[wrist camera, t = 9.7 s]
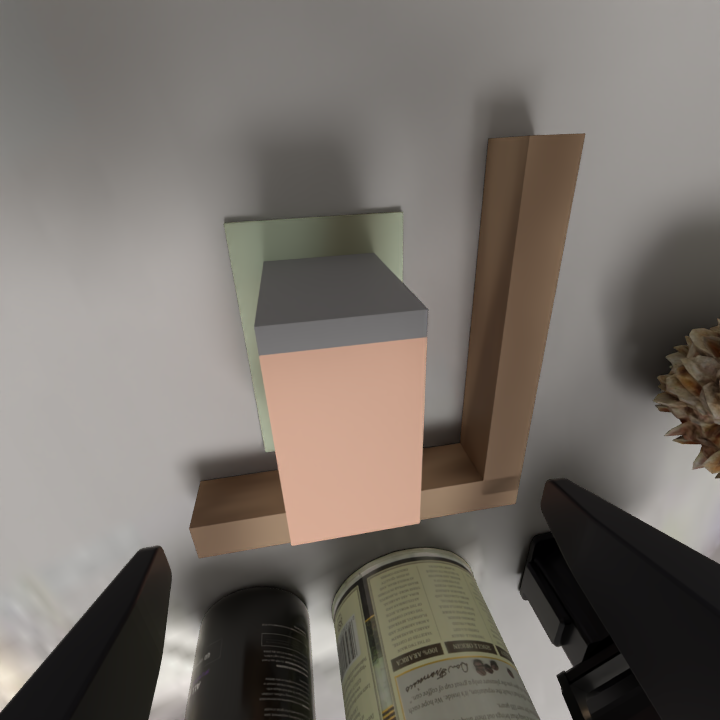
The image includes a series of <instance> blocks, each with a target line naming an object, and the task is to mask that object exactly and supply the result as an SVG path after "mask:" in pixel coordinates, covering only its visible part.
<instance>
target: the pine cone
mask: <svg viewBox="0 0 720 720" xmlns="http://www.w3.org/2000/svg"><path fill="white" fill-rule="evenodd" d="M717 321H718V326H715V327H711V328H710V330H708V329H705V328H698V329H692V331H691V332H690V334H689V336H685V338H686V341H687V344H688V346H687V345H679V346H675V347H673V348H675V349H676V350H677V351H679V352H676V353H672V354H669V355H668V356H666V358H667V359H668V360H669V361H670V362H671V364H672V366H669V367H670V368H671V369H672V370H671V371H670V372H669V374H667V375H659V376H658V377H657V378H658V380H659V381H660V385H659V386H658V388H660V389H662V390H660V391H663V393H660V394H658V395H657V396H656V397H655V399H654V400H653V401H654V402H656V403H659V405H655V406H656V407H657V408H658V409H659V411H662V412H671V413H672V414H673V415H674V416H675V417H676V418H678V419H680V421H681V422H682V424H680V425H679V426H677V427H675V428H672V429H671V430H669V431H668V432H667V433H666V434H665V435H664V436H674V435H682V436H680V437H678V438H676V439H674V440H672V441H675V442H678V443H681V444H701V445H702V447H701V450H700V453H699V455H698V456H697V458H696V459H695V461H694V462H693V469H692V470H694V469H698V468H703V467H705V468H706V469H707V470H708V471H709V472H711V473H712V474H713V473H718V474H717V476H716V477H715V478H720V319H718V318H717Z"/></svg>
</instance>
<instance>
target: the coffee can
mask: <svg viewBox="0 0 720 720" xmlns="http://www.w3.org/2000/svg"><path fill="white" fill-rule="evenodd" d="M332 618H333V622H334V628H335V634H336V642H337V650H338V658H339V667H340V675H341V683H342V691H343V699H344V707H345V715H346V720H540V718H539V716H538V714H537V712H536V709H535V707H534V705H533V703H532V701H531V699H530V697H529V694H528V692H527V690H526V688H525V686H524V684H523V682H522V680H521V677H520V675H519V673H518V671H517V668H516V667H515V664H514V662H513V661H512V658H511V656H510V654H509V652H508V650H507V648H506V645H505V643H504V641H503V639H502V637H501V635H500V633H499V631H498V628H497V626H496V624H495V622H494V620H493V618H492V616H491V614H490V611H489V609H488V607H487V605H486V603H485V601H484V599H483V597H482V594H481V592H480V590H479V588H478V586H477V583H476V581H475V579H474V575H473V572H472V570H471V568H470V567H469V565H468V564H467V563H466V562H465V561H464V560H463V559H462V558H461V557H459V556H458V555H456V554H454V553H452V552H449V551H446V550H440V549H436V548H414V549H407V550H402V551H398V552H393V553H390V554H388V555H386V556H383V557H380V558H378V559H376V560H374V561H371V562H369V563H367V564H366V565H364V566H363V567H362V568H360V569H358V570H357V571H356V572H354V573H353V574H352V575H351V576H350V577H349V578H348V579H347V580H346V581H345V582H344V583H343V585H342V586H341V588H340V589H339V591H338V592H337V594H336V596H335V599H334V601H333V606H332Z"/></svg>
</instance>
